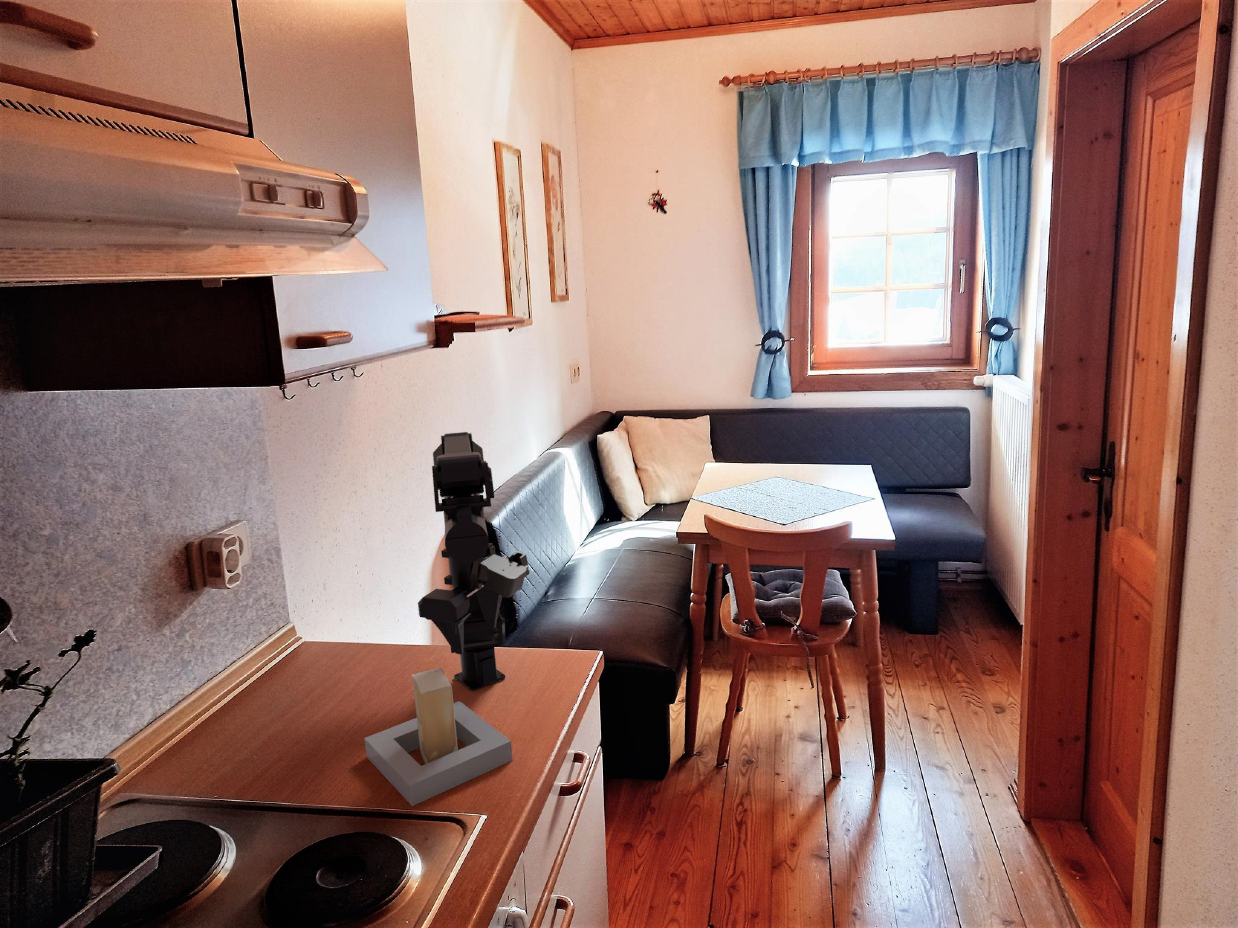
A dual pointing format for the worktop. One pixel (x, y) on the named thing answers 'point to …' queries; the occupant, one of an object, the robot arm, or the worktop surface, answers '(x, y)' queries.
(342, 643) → the worktop surface
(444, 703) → the skincare box
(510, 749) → the plate
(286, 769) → the worktop surface
